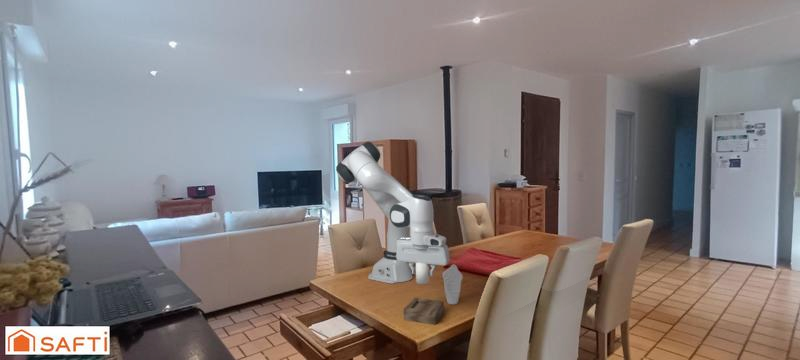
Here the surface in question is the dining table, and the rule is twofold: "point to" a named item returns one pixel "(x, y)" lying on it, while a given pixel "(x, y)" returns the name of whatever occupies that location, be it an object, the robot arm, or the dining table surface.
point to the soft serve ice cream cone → (452, 284)
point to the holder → (424, 311)
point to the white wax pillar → (422, 273)
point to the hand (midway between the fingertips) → (422, 274)
